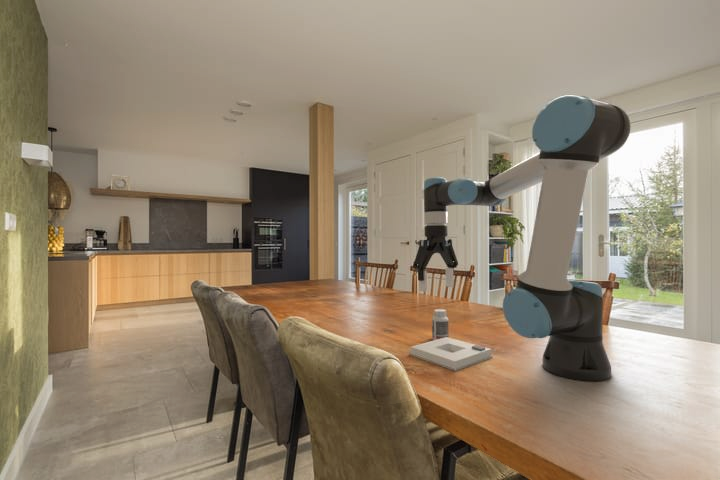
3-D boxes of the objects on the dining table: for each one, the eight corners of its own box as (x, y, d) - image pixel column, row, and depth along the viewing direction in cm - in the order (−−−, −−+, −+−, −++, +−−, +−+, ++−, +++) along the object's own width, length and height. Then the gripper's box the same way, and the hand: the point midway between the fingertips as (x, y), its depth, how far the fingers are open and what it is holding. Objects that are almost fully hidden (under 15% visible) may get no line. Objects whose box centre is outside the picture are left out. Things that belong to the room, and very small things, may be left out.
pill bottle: (451, 339, 122) (451, 310, 122) (442, 342, 118) (442, 312, 118) (438, 336, 126) (437, 308, 126) (428, 339, 122) (428, 310, 122)
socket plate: (492, 357, 104) (492, 346, 104) (455, 371, 94) (455, 359, 94) (446, 344, 117) (446, 334, 117) (409, 354, 107) (409, 344, 107)
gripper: (450, 225, 133) (451, 284, 133) (401, 225, 117) (402, 291, 117) (468, 225, 127) (468, 286, 127) (418, 224, 111) (419, 293, 111)
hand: (436, 288), depth 122 cm, fingers open, 13 cm apart
